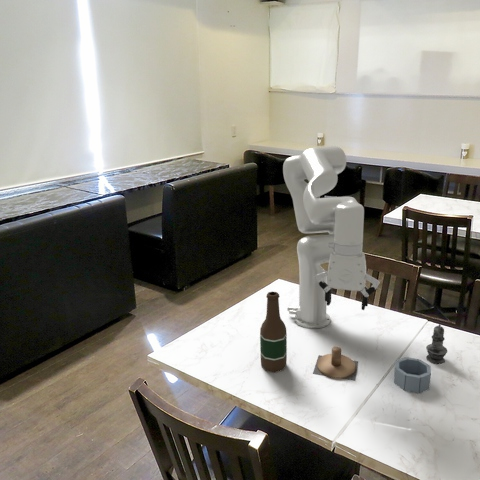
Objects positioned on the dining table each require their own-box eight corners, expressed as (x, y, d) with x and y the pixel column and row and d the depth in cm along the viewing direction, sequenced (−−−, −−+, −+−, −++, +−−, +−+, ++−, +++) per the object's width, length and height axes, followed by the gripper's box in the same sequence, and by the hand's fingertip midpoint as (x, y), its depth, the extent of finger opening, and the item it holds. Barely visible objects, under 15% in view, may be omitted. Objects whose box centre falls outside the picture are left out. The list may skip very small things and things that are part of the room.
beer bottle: (272, 355, 143) (271, 285, 135) (292, 365, 137) (292, 292, 130) (255, 366, 138) (253, 293, 130) (274, 376, 132) (274, 302, 125)
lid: (314, 374, 132) (314, 356, 130) (320, 354, 142) (321, 337, 140) (353, 381, 129) (354, 362, 127) (356, 360, 138) (357, 342, 136)
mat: (312, 374, 133) (312, 373, 133) (318, 356, 142) (318, 355, 142) (354, 381, 129) (355, 380, 129) (358, 362, 138) (358, 361, 138)
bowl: (393, 389, 125) (395, 373, 123) (394, 370, 133) (395, 355, 132) (429, 395, 122) (431, 379, 121) (428, 375, 130) (430, 360, 129)
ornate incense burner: (440, 353, 141) (445, 318, 137) (449, 364, 135) (454, 328, 131) (421, 354, 141) (425, 319, 137) (430, 365, 135) (434, 329, 131)
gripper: (313, 249, 123) (312, 307, 128) (380, 255, 117) (376, 315, 122) (319, 241, 130) (318, 296, 135) (382, 246, 124) (379, 304, 129)
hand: (345, 305), depth 129 cm, fingers open, 9 cm apart
